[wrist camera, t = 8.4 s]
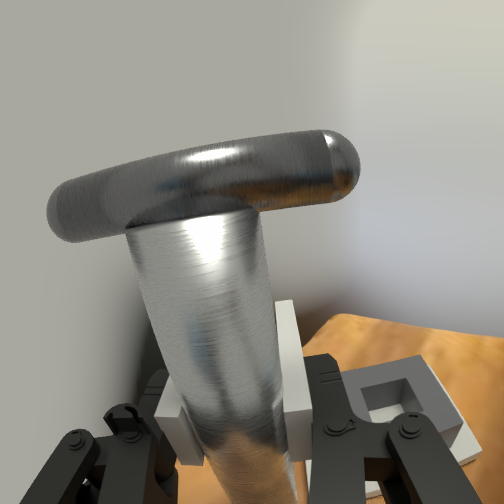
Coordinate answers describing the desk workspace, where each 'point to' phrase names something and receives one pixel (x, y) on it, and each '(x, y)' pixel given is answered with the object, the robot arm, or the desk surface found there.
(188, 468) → the desk surface
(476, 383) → the desk surface
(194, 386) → the chuck key
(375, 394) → the chuck block
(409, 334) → the desk surface
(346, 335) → the desk surface
